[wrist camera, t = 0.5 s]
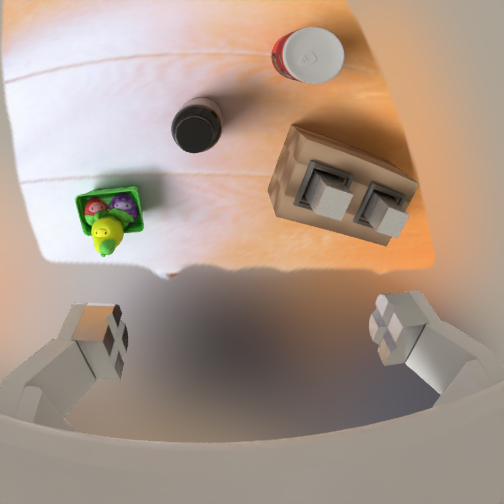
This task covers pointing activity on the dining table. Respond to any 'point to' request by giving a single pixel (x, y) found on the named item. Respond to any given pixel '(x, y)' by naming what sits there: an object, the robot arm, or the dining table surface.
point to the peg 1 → (327, 195)
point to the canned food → (309, 55)
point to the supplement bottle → (197, 125)
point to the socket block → (347, 170)
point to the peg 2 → (385, 214)
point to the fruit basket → (110, 216)
